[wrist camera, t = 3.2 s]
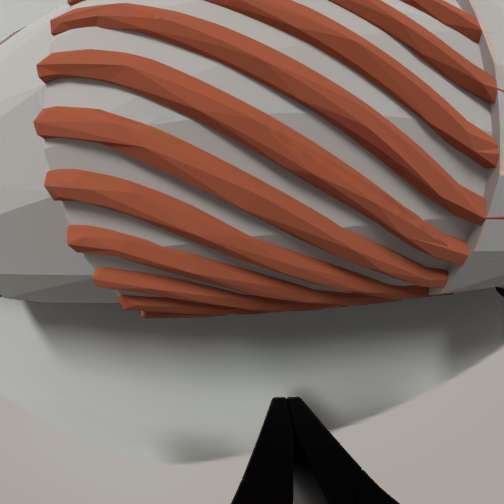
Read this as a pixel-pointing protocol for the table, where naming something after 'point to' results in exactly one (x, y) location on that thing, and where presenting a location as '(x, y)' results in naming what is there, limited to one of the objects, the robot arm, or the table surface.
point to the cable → (252, 154)
